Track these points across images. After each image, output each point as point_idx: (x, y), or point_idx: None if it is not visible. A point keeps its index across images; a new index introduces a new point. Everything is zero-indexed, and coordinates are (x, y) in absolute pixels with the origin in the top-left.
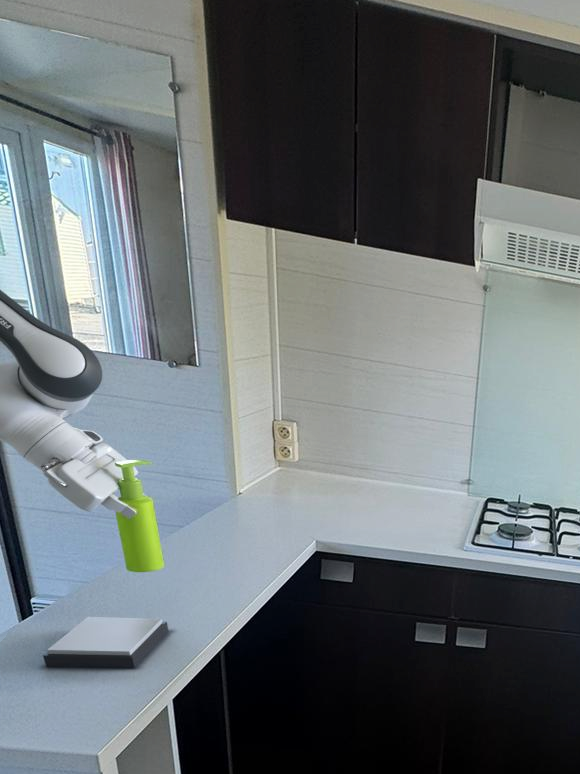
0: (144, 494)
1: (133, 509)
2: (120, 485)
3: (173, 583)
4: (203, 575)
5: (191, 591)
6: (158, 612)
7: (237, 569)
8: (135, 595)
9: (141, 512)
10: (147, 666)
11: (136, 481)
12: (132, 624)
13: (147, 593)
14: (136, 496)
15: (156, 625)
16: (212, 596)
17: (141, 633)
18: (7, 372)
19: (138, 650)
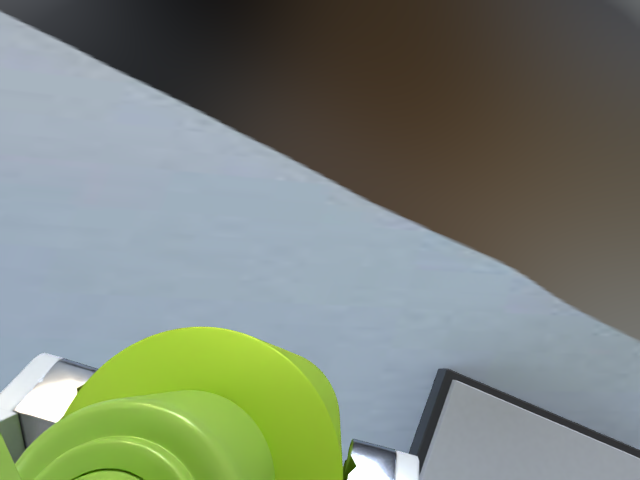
0: (12, 390)
1: (397, 472)
2: None
3: (81, 347)
4: (48, 260)
5: (166, 299)
6: None
7: (37, 165)
8: None
9: (333, 416)
10: (631, 422)
11: (190, 451)
12: (476, 462)
13: None
14: (262, 451)
15: (491, 395)
16: (226, 246)
17: (547, 436)
18: None
19: (622, 443)
